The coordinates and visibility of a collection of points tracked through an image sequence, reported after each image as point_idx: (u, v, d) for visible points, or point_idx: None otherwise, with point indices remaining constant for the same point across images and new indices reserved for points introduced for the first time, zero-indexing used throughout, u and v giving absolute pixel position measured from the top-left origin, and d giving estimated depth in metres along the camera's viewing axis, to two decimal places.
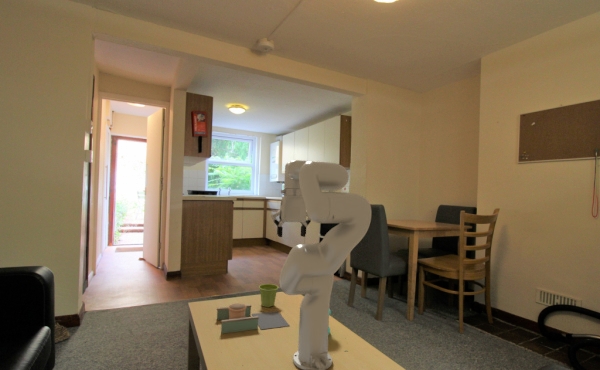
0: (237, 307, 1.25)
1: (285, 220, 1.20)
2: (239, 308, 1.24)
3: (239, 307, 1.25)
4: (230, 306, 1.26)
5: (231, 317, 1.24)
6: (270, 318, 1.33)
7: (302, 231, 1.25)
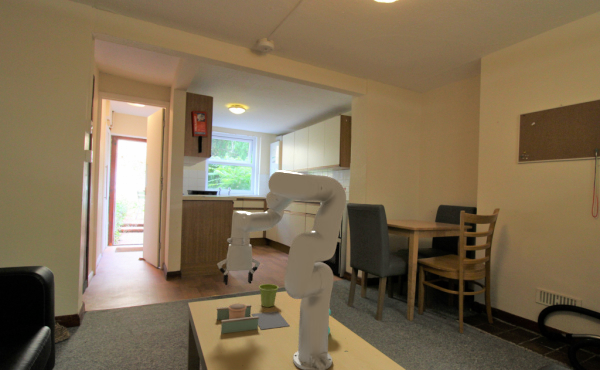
0: (237, 307, 1.25)
1: (230, 269, 1.23)
2: (239, 308, 1.24)
3: (239, 307, 1.25)
4: (230, 306, 1.26)
5: (231, 317, 1.24)
6: (270, 318, 1.33)
7: (249, 278, 1.28)
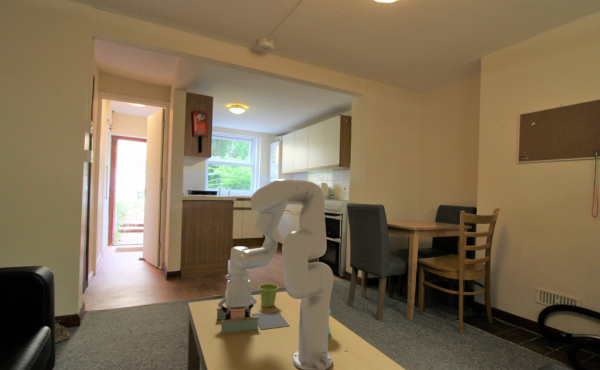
0: (237, 307, 1.25)
1: (229, 306, 1.23)
2: (239, 308, 1.24)
3: (239, 307, 1.25)
4: None
5: (231, 317, 1.24)
6: (270, 318, 1.33)
7: None
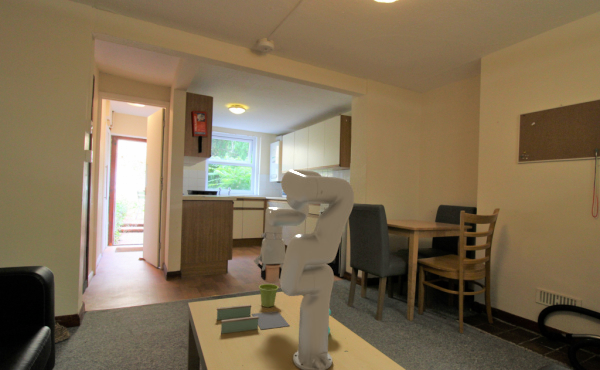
0: (272, 264, 1.31)
1: (265, 263, 1.28)
2: (274, 265, 1.30)
3: (274, 264, 1.31)
4: None
5: (267, 273, 1.29)
6: (270, 318, 1.33)
7: (279, 273, 1.33)
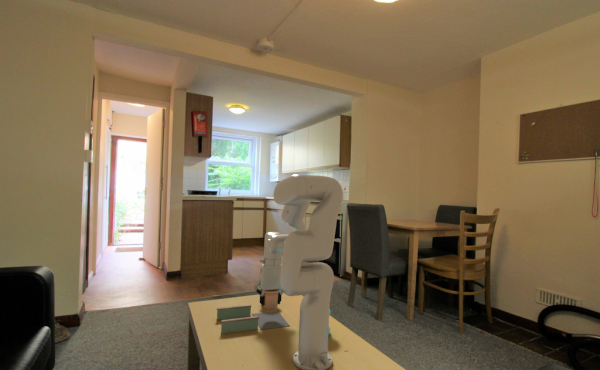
0: (271, 290, 1.31)
1: (264, 289, 1.28)
2: (273, 290, 1.30)
3: (273, 290, 1.31)
4: None
5: (265, 299, 1.29)
6: (270, 318, 1.33)
7: None
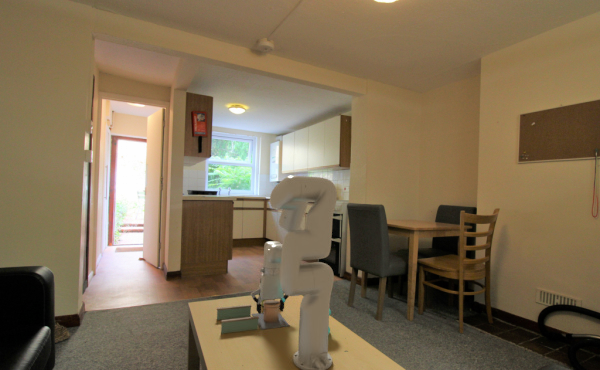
0: (272, 303, 1.31)
1: (263, 298, 1.28)
2: (274, 304, 1.30)
3: (273, 303, 1.30)
4: (265, 302, 1.31)
5: (266, 313, 1.29)
6: None
7: (280, 306, 1.33)
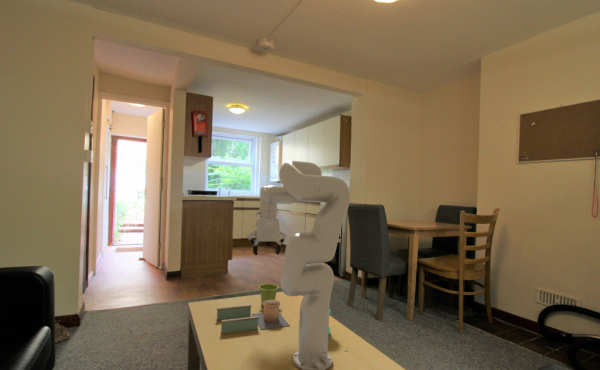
0: (272, 303, 1.31)
1: (260, 240, 1.31)
2: (274, 304, 1.30)
3: (273, 303, 1.31)
4: (265, 302, 1.32)
5: (266, 313, 1.29)
6: None
7: (276, 249, 1.36)
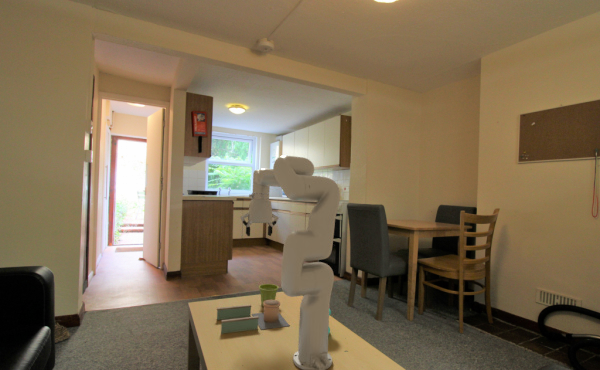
0: (272, 303, 1.31)
1: (252, 221, 1.35)
2: (274, 304, 1.30)
3: (273, 303, 1.30)
4: (265, 302, 1.31)
5: (266, 313, 1.29)
6: None
7: (269, 231, 1.41)
